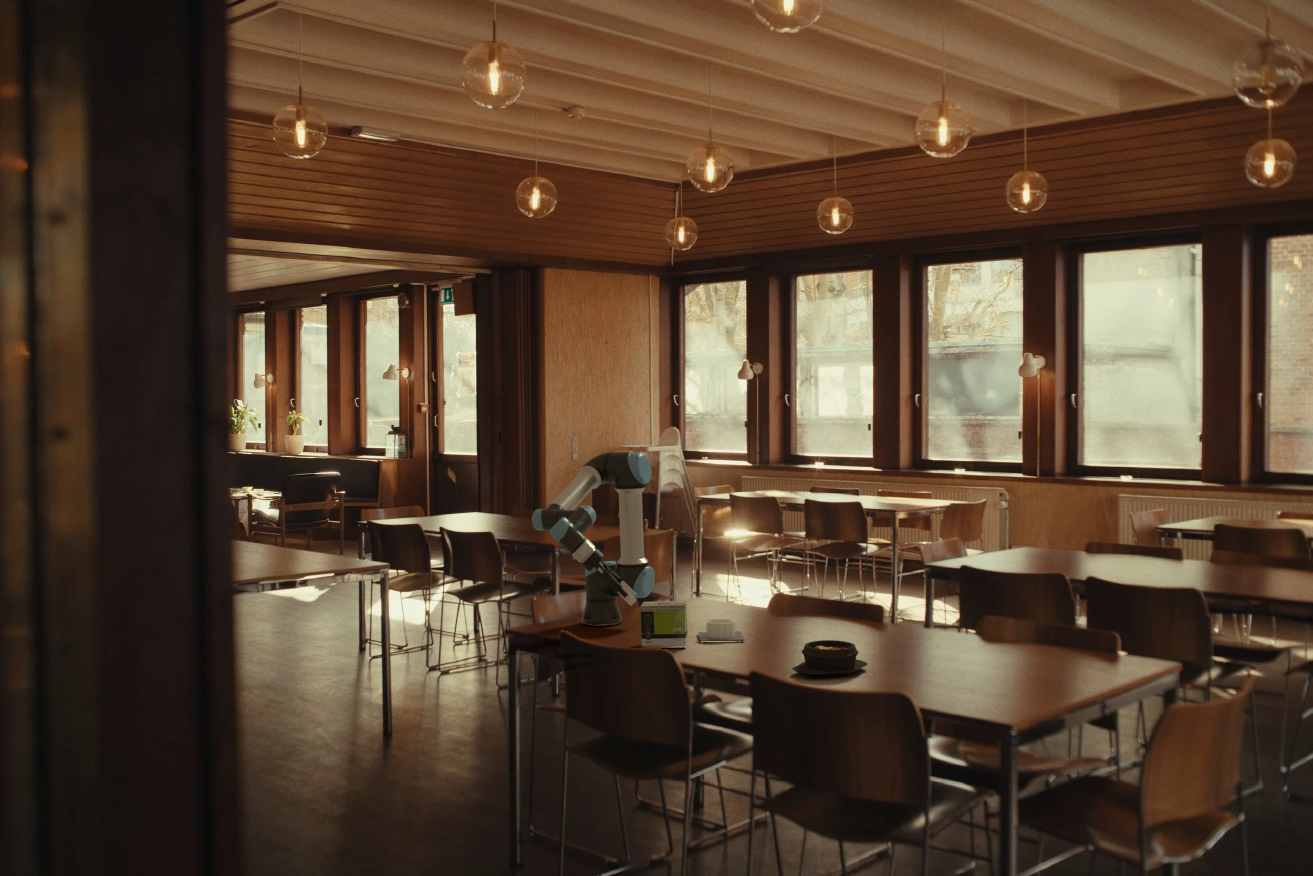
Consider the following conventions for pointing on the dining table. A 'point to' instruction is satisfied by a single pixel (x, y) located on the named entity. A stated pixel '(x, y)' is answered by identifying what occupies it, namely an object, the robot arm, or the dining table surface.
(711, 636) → the bowl
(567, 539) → the robot arm
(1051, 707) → the dining table surface
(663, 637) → the tea box
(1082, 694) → the dining table surface
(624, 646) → the dining table surface
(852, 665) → the casserole
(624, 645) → the dining table surface
